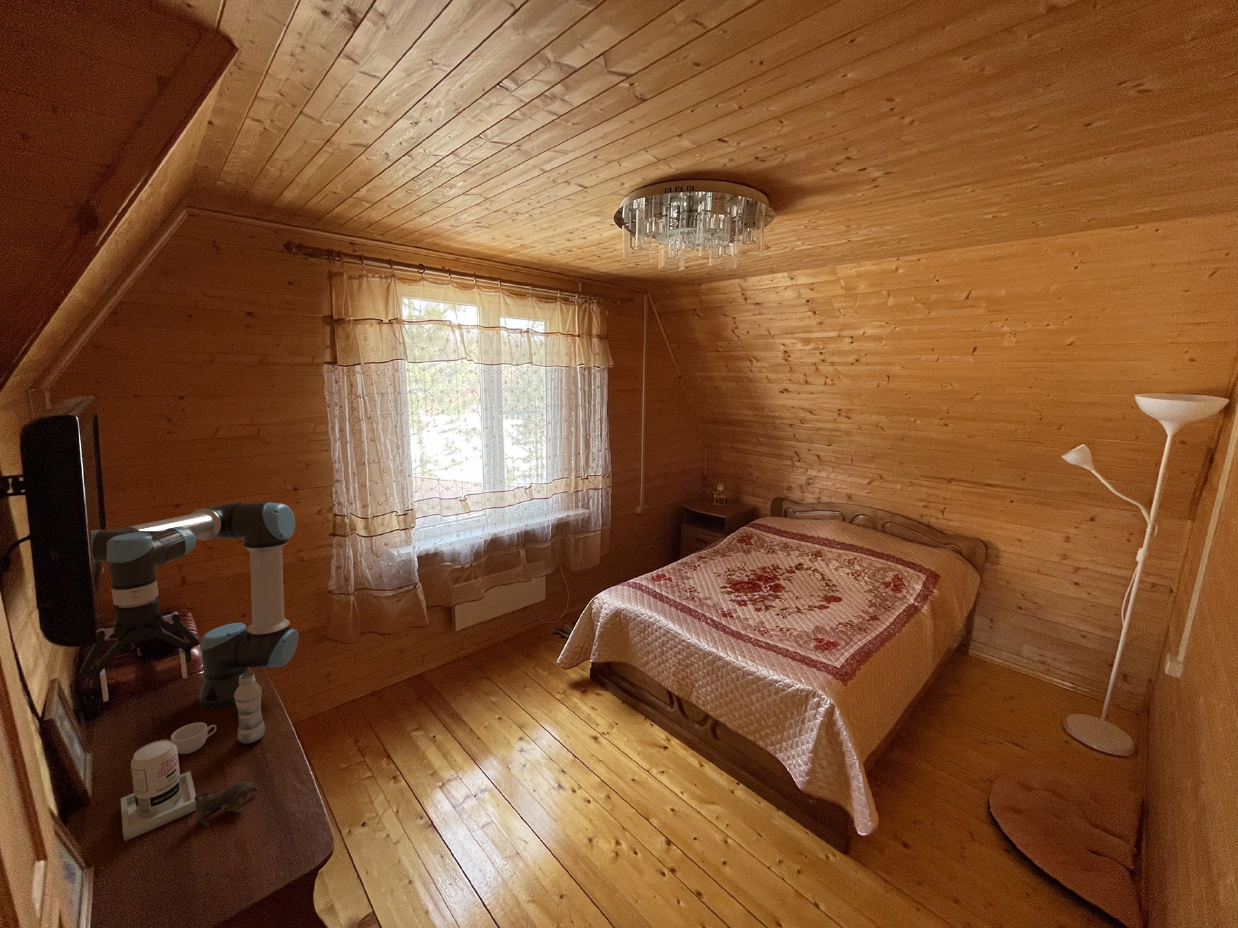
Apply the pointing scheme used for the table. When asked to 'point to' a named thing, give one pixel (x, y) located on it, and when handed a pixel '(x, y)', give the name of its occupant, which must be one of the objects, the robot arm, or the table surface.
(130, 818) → the can tray
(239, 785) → the dog figurine
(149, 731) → the table surface
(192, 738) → the teacup
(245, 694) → the plastic bottle
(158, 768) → the supplement can
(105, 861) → the table surface
